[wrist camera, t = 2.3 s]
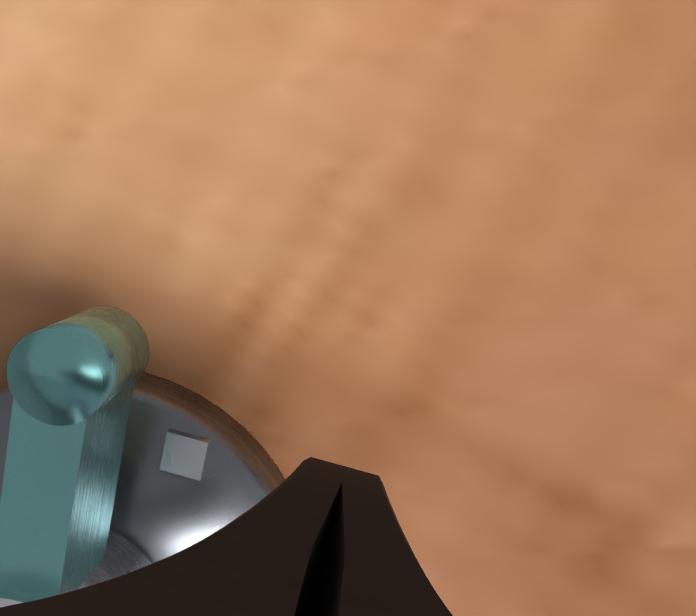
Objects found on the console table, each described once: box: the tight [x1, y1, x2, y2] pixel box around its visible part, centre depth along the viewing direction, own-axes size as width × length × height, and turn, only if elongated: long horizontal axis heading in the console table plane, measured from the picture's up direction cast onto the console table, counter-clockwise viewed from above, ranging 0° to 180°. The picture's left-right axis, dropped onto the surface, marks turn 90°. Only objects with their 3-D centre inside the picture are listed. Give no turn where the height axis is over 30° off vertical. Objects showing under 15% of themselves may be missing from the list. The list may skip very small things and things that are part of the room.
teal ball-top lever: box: [0, 306, 151, 607], centre depth 13 cm, size 10×4×4 cm, turn 166°
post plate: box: [0, 373, 285, 564], centre depth 15 cm, size 11×11×4 cm
